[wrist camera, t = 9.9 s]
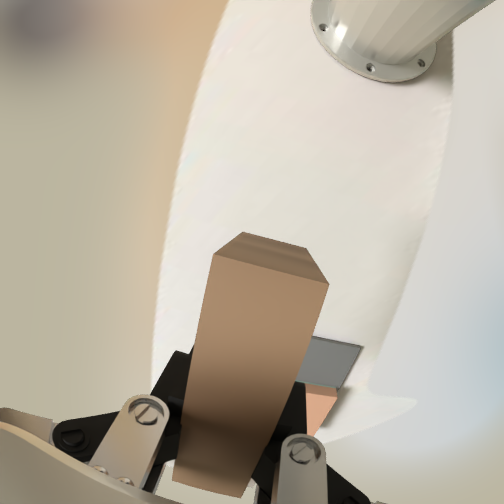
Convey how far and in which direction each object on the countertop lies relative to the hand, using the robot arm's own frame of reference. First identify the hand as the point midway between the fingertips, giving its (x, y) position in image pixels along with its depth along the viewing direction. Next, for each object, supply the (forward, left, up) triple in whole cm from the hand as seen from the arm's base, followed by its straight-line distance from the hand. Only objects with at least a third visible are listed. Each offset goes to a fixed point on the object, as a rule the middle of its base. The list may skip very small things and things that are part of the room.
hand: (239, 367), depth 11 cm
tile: (+14, +8, -16) cm, 22 cm away
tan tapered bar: (+2, 0, -1) cm, 2 cm away
